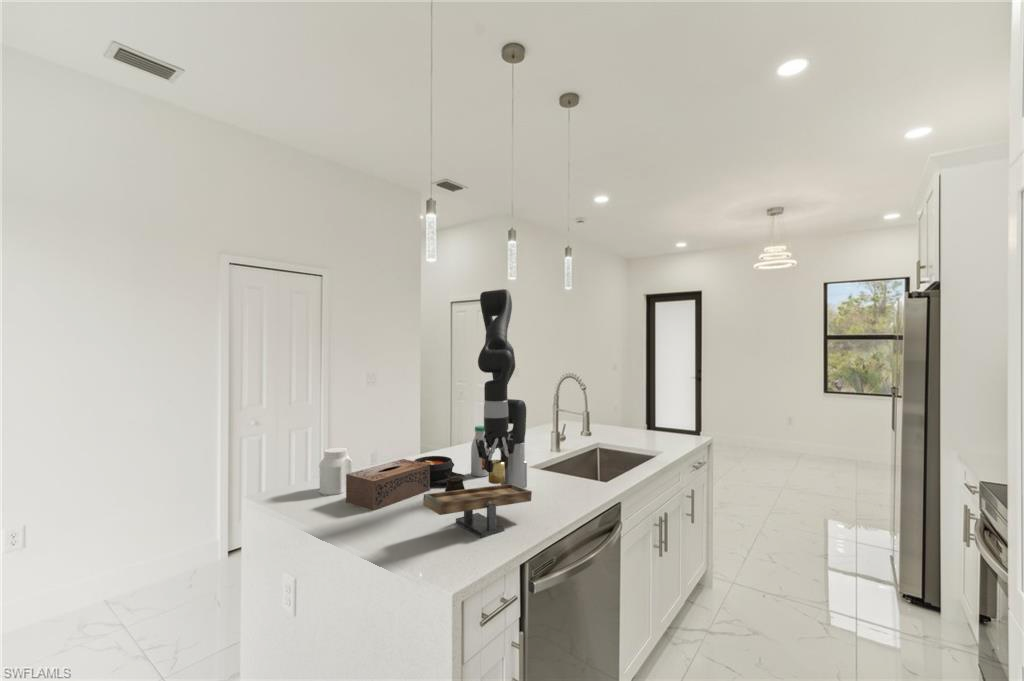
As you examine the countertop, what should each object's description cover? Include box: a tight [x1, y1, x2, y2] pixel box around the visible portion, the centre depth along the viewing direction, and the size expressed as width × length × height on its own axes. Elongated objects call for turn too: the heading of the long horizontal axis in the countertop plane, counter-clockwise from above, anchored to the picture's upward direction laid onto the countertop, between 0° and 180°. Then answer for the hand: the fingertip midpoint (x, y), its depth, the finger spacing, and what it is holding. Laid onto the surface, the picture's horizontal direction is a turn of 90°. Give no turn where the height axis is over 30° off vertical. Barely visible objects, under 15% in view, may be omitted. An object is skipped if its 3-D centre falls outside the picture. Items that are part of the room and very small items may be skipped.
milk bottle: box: [470, 425, 489, 478], centre depth 194 cm, size 8×8×20 cm
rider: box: [488, 459, 505, 485], centre depth 142 cm, size 5×5×6 cm
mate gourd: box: [444, 472, 466, 492], centre depth 161 cm, size 7×8×10 cm
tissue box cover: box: [345, 458, 431, 512], centre depth 166 cm, size 26×14×10 cm, turn 146°
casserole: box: [413, 455, 465, 486], centre depth 185 cm, size 25×19×8 cm
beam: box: [422, 484, 533, 516], centre depth 138 cm, size 32×10×3 cm, turn 128°
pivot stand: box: [455, 504, 505, 538], centre depth 138 cm, size 8×14×8 cm, turn 38°
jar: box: [318, 447, 353, 496], centre depth 173 cm, size 12×10×15 cm
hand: (496, 469), depth 142 cm, fingers closed on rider, 5 cm apart
